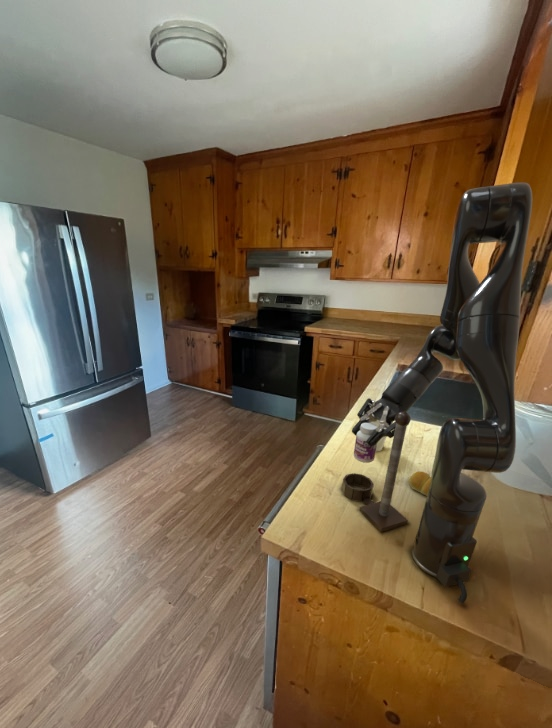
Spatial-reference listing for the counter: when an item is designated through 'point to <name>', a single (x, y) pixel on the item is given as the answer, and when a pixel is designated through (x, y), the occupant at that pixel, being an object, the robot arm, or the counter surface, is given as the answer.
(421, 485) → the bread roll
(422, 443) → the counter surface
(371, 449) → the pill bottle
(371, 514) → the towel stand
